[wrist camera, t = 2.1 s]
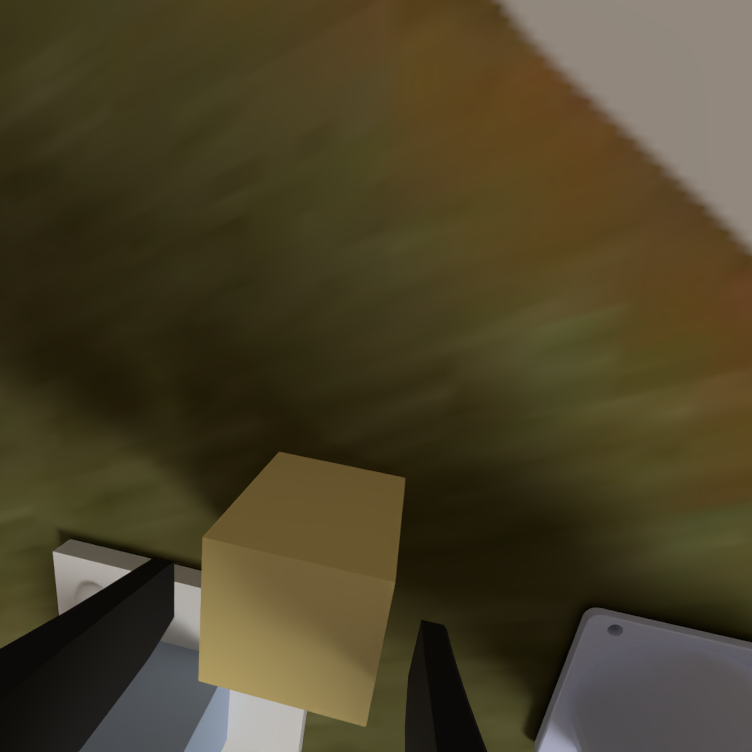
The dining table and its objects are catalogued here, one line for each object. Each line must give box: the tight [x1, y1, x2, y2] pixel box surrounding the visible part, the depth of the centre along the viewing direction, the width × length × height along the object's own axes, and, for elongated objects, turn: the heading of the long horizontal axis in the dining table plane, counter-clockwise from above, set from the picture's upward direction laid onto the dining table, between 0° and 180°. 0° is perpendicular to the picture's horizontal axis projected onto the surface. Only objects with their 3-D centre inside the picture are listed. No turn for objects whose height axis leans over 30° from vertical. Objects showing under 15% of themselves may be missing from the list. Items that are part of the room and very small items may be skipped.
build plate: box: [53, 539, 307, 752], centre depth 17 cm, size 12×12×1 cm
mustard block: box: [198, 452, 405, 727], centre depth 12 cm, size 5×5×5 cm
